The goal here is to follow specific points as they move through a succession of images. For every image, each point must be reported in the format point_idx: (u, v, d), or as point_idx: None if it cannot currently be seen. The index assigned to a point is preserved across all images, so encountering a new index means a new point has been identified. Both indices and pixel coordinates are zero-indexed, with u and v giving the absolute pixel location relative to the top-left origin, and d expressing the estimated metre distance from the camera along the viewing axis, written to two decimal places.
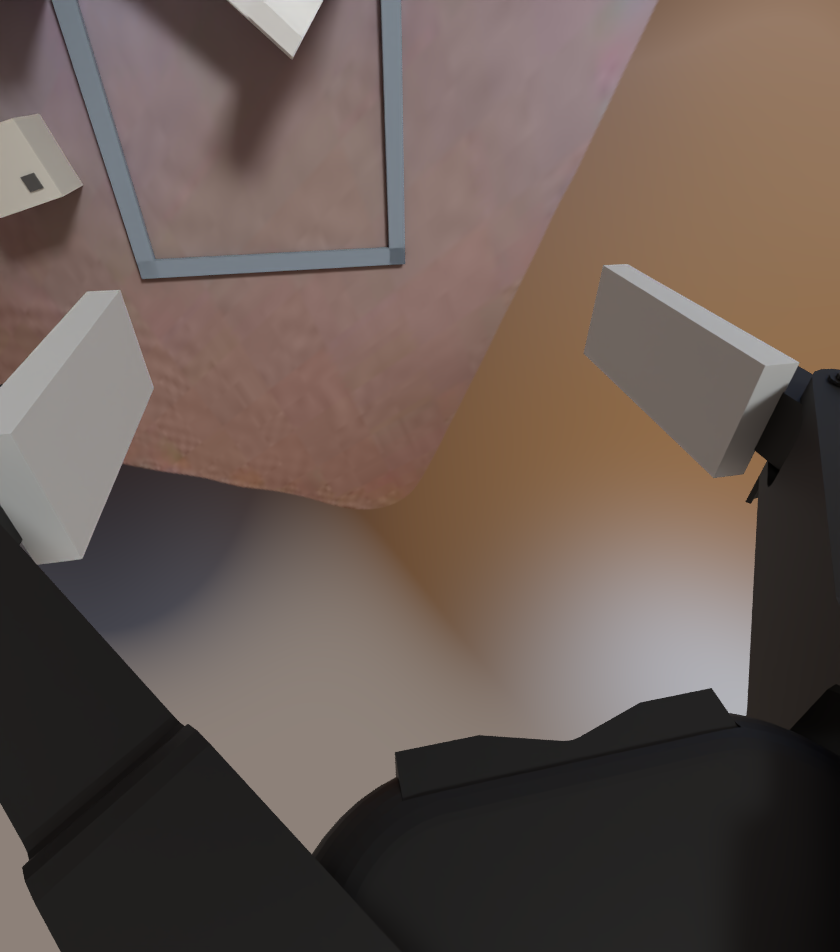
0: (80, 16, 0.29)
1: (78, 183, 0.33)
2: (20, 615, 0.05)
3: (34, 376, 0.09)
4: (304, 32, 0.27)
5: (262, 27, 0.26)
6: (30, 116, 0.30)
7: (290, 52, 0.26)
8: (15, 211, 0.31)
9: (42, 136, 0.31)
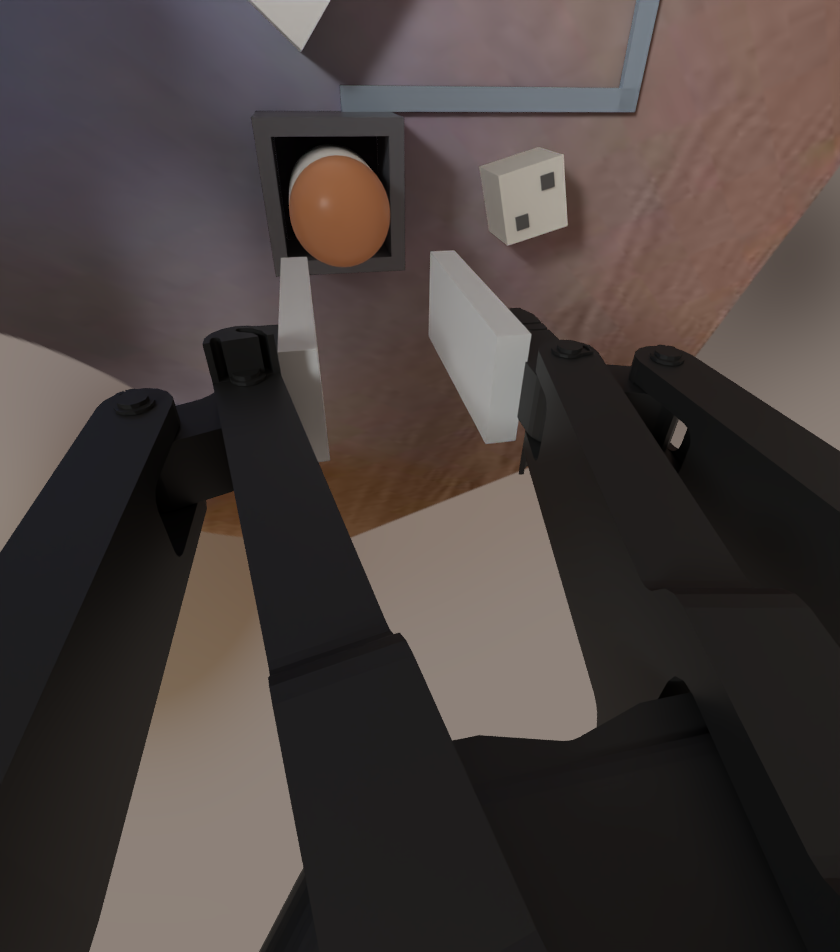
0: (412, 86, 0.30)
1: (538, 148, 0.33)
2: (302, 501, 0.07)
3: (297, 314, 0.12)
4: None
5: None
6: (487, 169, 0.32)
7: None
8: (565, 209, 0.32)
9: (502, 164, 0.32)
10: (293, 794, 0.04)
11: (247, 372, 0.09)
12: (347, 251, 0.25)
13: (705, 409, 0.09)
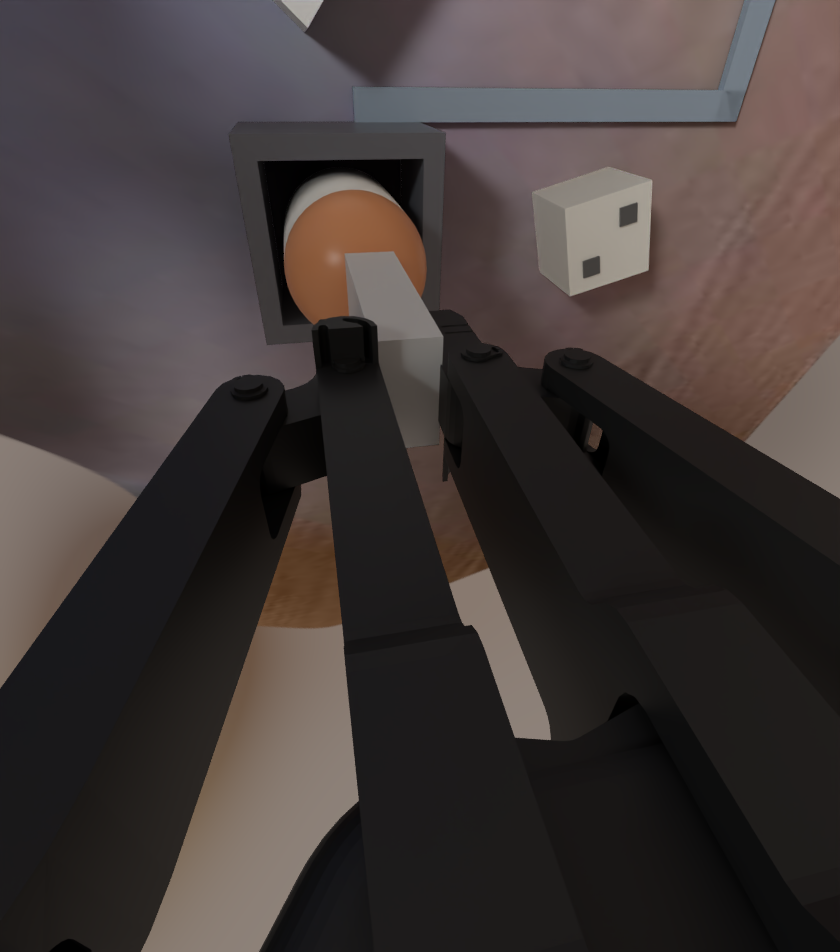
0: (450, 88, 0.22)
1: (610, 169, 0.25)
2: (388, 488, 0.07)
3: (378, 307, 0.12)
4: None
5: None
6: (544, 197, 0.24)
7: None
8: (648, 249, 0.24)
9: (566, 191, 0.24)
10: (358, 758, 0.04)
11: (348, 360, 0.10)
12: None
13: (620, 414, 0.09)
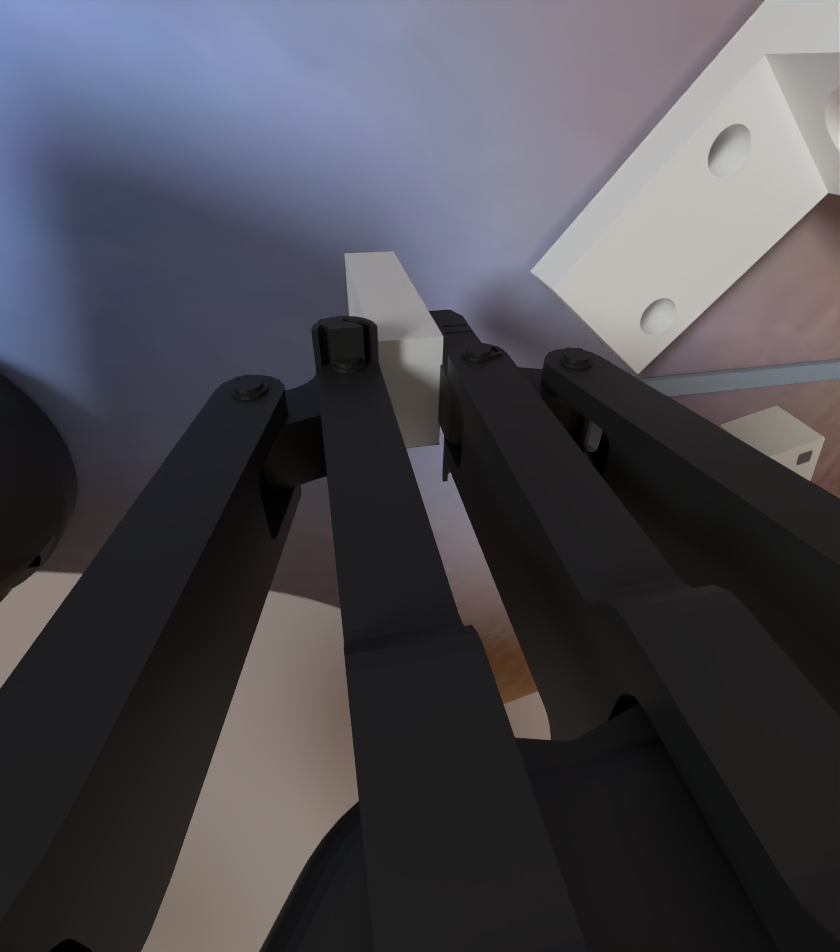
0: (683, 377, 0.31)
1: (780, 410, 0.34)
2: (388, 488, 0.07)
3: (378, 307, 0.12)
4: None
5: None
6: (736, 436, 0.33)
7: None
8: (812, 474, 0.33)
9: (752, 432, 0.33)
10: (358, 758, 0.04)
11: (348, 360, 0.10)
12: None
13: (621, 413, 0.09)
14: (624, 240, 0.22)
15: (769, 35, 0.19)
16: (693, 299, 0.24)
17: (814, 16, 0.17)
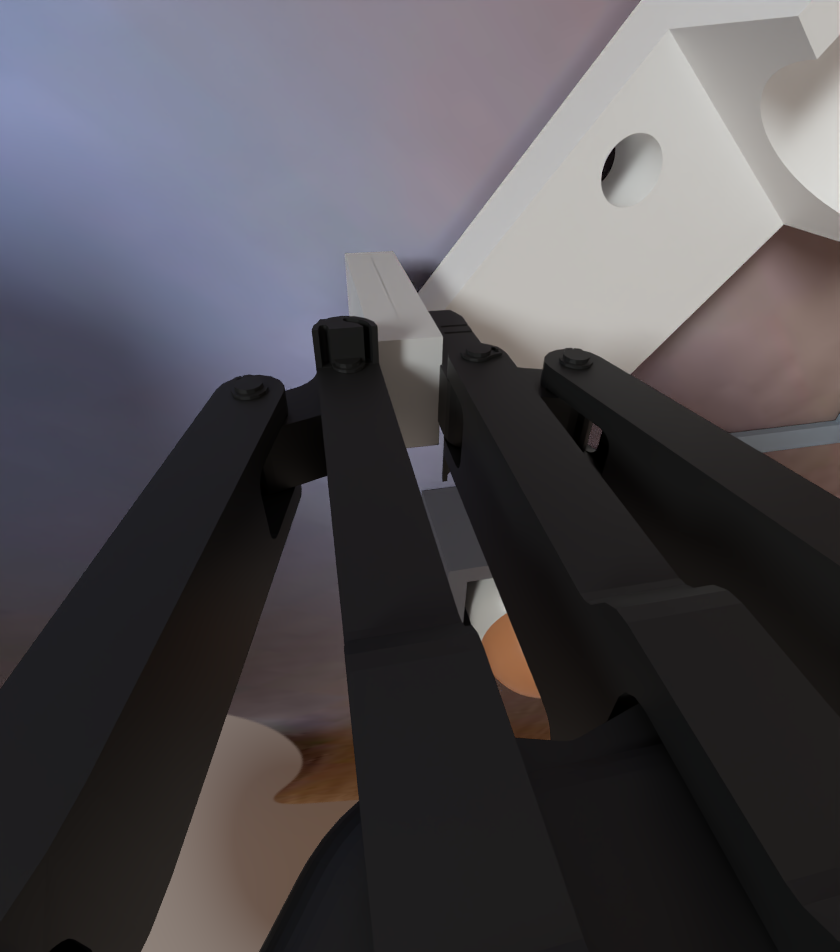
0: None
1: None
2: (389, 487, 0.07)
3: (379, 307, 0.12)
4: None
5: None
6: None
7: None
8: None
9: None
10: (358, 758, 0.04)
11: (348, 360, 0.10)
12: None
13: (620, 414, 0.09)
14: (495, 297, 0.16)
15: (677, 1, 0.13)
16: None
17: None
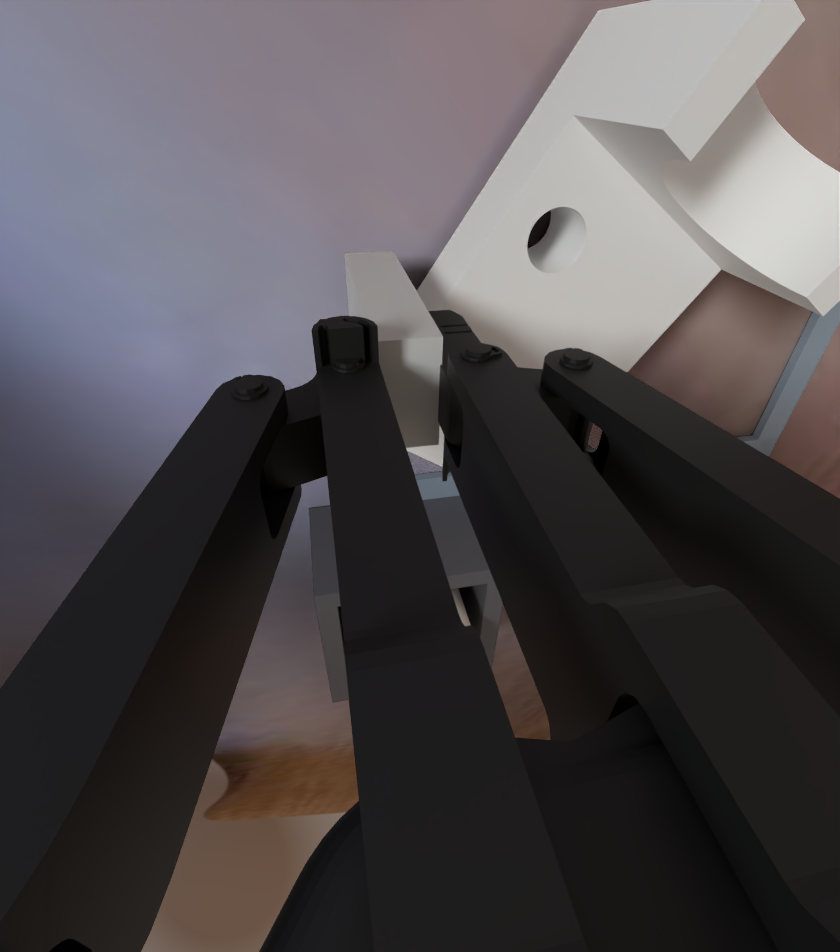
0: None
1: None
2: (388, 487, 0.07)
3: (379, 307, 0.12)
4: None
5: None
6: None
7: None
8: None
9: None
10: (358, 758, 0.04)
11: (348, 360, 0.10)
12: None
13: (620, 414, 0.09)
14: None
15: (581, 85, 0.13)
16: None
17: (626, 59, 0.12)
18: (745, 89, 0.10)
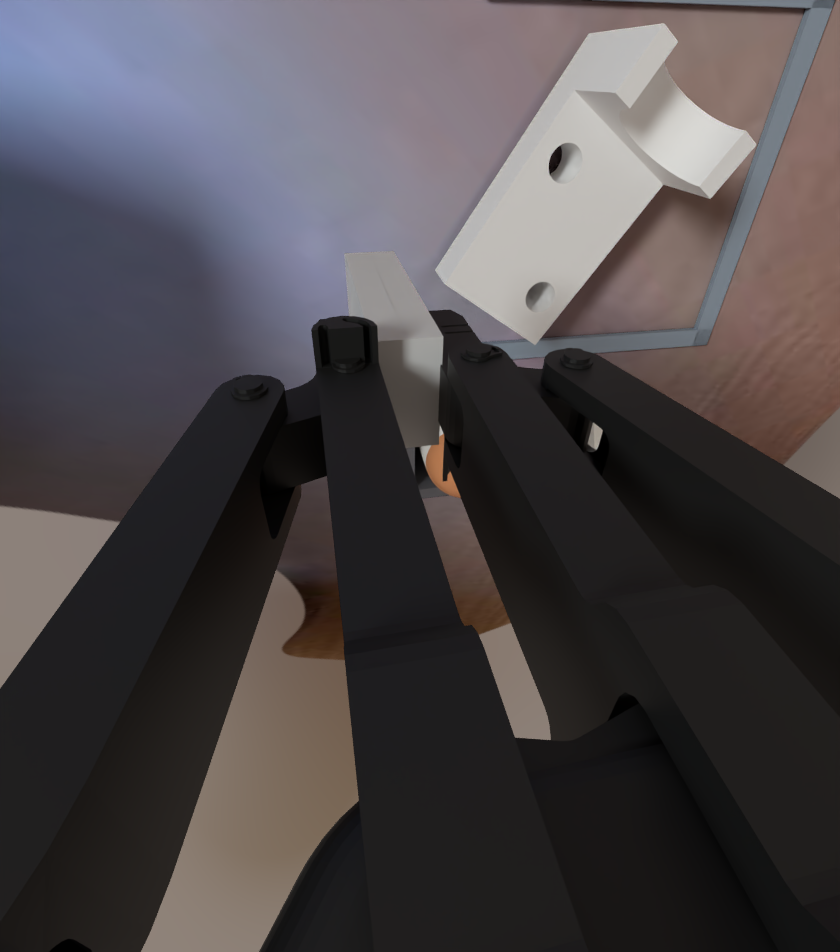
0: (521, 341, 0.35)
1: None
2: (388, 488, 0.07)
3: (378, 307, 0.12)
4: (722, 124, 0.24)
5: (724, 180, 0.24)
6: None
7: (752, 147, 0.23)
8: None
9: None
10: (357, 758, 0.04)
11: (348, 360, 0.10)
12: None
13: (620, 414, 0.09)
14: (495, 240, 0.28)
15: (579, 74, 0.24)
16: (567, 280, 0.30)
17: (601, 60, 0.23)
18: (653, 73, 0.21)
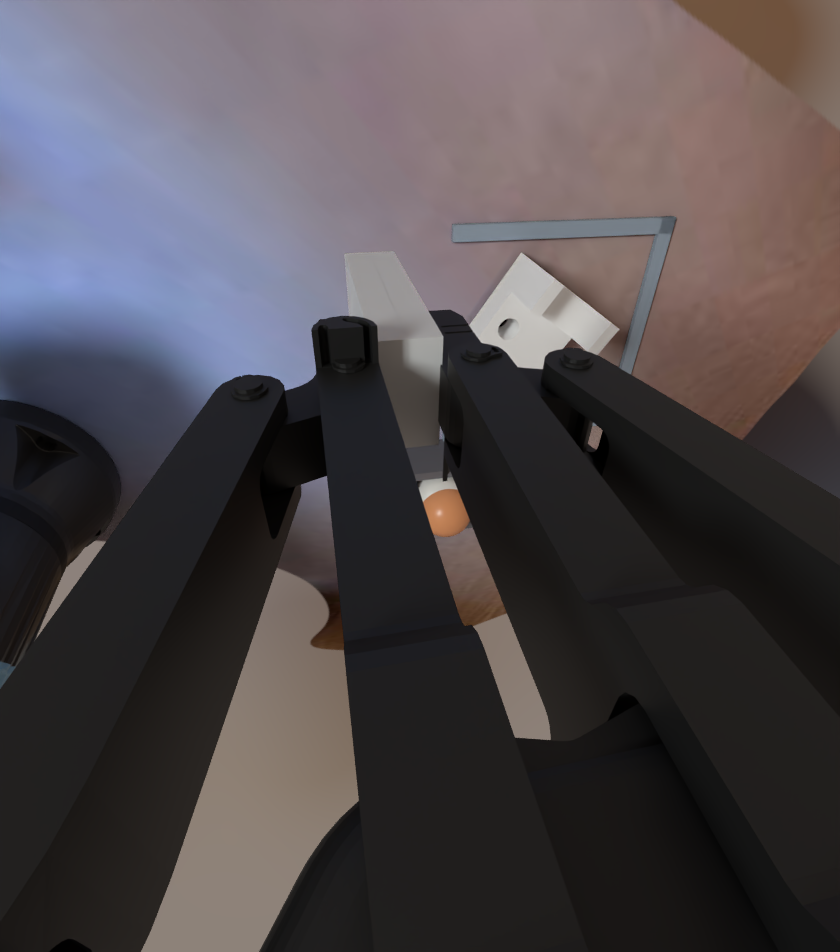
0: None
1: None
2: (388, 488, 0.07)
3: (378, 307, 0.12)
4: (600, 315, 0.39)
5: (602, 347, 0.39)
6: None
7: (617, 330, 0.39)
8: None
9: None
10: (357, 758, 0.04)
11: (348, 360, 0.10)
12: (450, 535, 0.47)
13: (620, 413, 0.09)
14: None
15: (514, 281, 0.40)
16: None
17: (525, 280, 0.38)
18: (551, 301, 0.36)
